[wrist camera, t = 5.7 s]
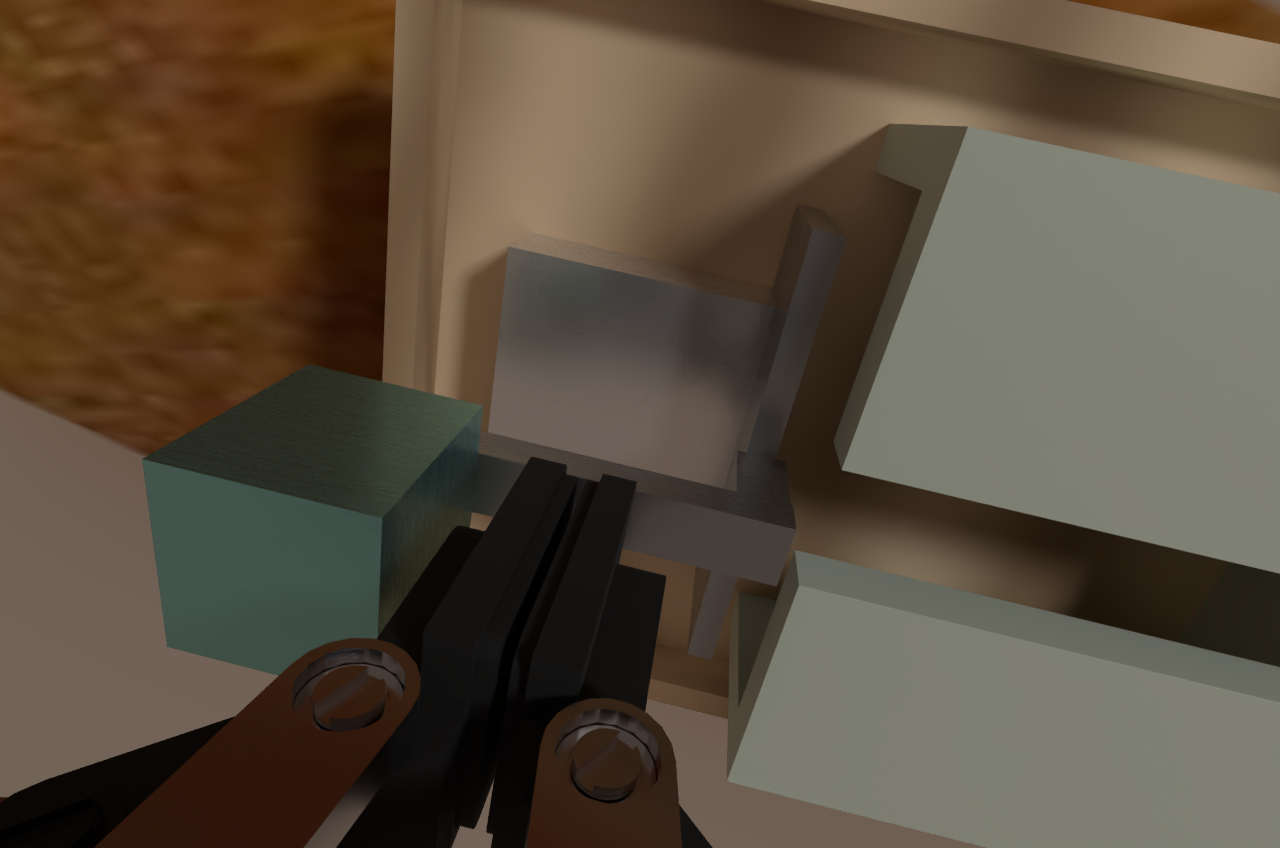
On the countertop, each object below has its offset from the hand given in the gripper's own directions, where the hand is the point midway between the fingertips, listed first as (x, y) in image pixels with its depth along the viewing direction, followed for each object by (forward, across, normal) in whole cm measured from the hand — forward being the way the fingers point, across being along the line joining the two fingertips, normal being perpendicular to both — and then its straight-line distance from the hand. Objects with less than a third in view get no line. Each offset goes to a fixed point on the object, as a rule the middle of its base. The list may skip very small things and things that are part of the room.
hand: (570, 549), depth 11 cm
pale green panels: (+8, -11, 0) cm, 13 cm away
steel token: (+8, 0, 0) cm, 8 cm away
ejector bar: (+8, +1, 0) cm, 8 cm away
